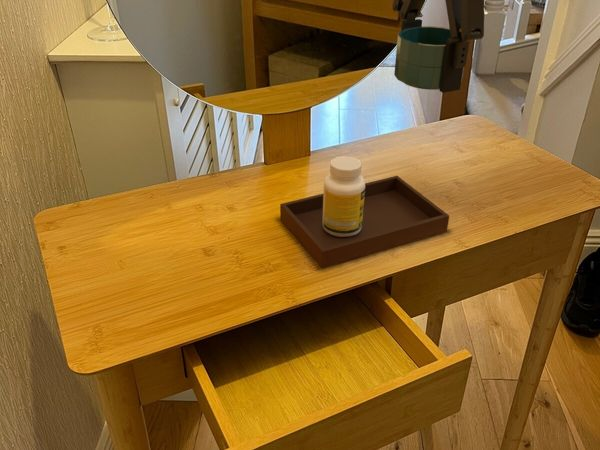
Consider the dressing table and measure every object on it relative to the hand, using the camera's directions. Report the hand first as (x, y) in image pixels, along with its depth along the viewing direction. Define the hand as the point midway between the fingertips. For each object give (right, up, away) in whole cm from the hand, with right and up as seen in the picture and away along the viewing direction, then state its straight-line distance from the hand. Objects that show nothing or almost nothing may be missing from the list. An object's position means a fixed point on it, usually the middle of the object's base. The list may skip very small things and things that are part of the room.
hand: (427, 78), depth 85 cm
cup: (0, 0, 0) cm, 0 cm away
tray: (-9, -20, +1) cm, 22 cm away
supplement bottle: (-12, -20, 0) cm, 24 cm away
